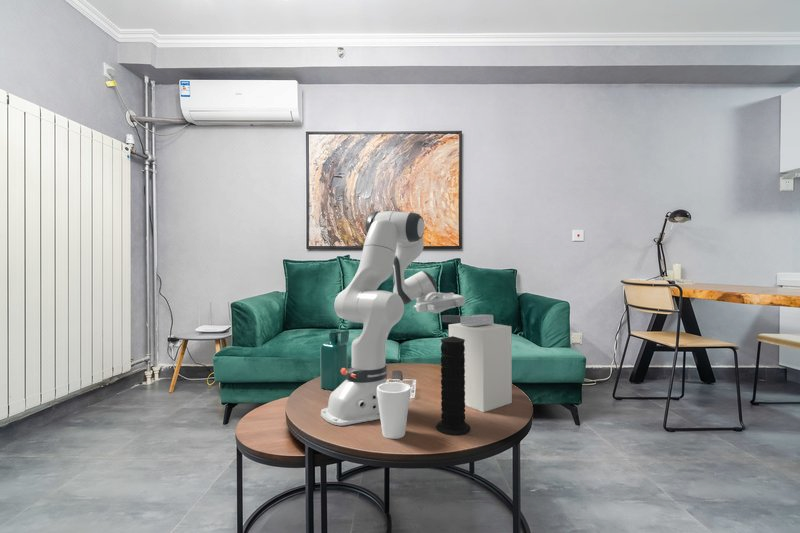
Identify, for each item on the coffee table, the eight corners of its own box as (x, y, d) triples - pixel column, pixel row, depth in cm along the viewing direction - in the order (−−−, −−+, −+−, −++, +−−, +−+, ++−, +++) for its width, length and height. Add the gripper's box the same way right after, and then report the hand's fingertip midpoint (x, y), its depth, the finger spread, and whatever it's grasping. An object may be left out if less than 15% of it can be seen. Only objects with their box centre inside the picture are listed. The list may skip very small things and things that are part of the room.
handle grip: (429, 424, 116) (446, 438, 107) (429, 334, 116) (446, 340, 107) (458, 418, 120) (477, 431, 111) (458, 332, 120) (477, 337, 111)
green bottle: (318, 388, 151) (317, 330, 151) (331, 382, 158) (331, 327, 158) (339, 391, 146) (338, 332, 146) (352, 385, 154) (351, 329, 154)
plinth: (483, 412, 125) (483, 330, 125) (448, 398, 138) (448, 324, 138) (511, 402, 134) (511, 326, 133) (476, 390, 146) (476, 321, 146)
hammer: (473, 326, 131) (472, 317, 131) (434, 323, 147) (433, 315, 148) (493, 323, 137) (493, 314, 137) (453, 321, 153) (453, 313, 153)
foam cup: (379, 442, 104) (379, 393, 104) (374, 428, 113) (374, 383, 113) (414, 439, 106) (414, 391, 106) (406, 425, 115) (406, 381, 115)
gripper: (410, 299, 165) (420, 301, 151) (456, 291, 169) (469, 294, 156) (412, 313, 165) (422, 318, 151) (458, 306, 170) (471, 309, 156)
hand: (446, 305), depth 154 cm, fingers open, 8 cm apart
